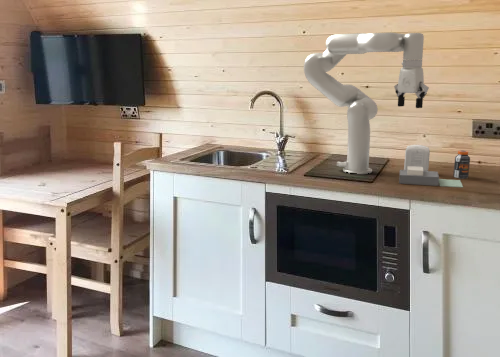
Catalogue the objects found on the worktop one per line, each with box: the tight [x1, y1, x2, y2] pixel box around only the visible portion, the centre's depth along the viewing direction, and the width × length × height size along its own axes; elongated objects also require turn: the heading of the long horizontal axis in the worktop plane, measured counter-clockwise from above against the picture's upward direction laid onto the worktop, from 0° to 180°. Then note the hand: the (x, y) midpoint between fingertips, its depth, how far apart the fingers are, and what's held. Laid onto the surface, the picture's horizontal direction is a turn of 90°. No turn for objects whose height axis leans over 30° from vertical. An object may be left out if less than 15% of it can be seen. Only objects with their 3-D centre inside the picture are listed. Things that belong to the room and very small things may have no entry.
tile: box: [407, 166, 423, 176], centre depth 215 cm, size 6×8×2 cm
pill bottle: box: [453, 149, 471, 179], centre depth 223 cm, size 6×6×11 cm
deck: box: [398, 169, 440, 187], centre depth 216 cm, size 15×11×4 cm
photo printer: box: [403, 144, 431, 171], centre depth 232 cm, size 10×4×12 cm, turn 67°
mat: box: [438, 178, 464, 188], centre depth 213 cm, size 8×12×1 cm
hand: (409, 107), depth 218 cm, fingers open, 9 cm apart
